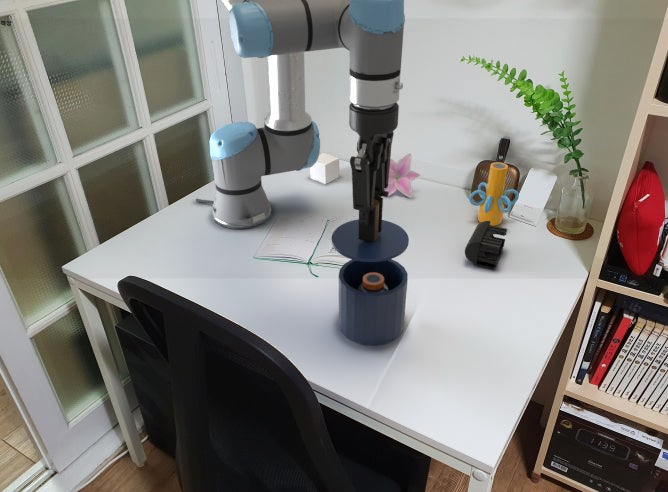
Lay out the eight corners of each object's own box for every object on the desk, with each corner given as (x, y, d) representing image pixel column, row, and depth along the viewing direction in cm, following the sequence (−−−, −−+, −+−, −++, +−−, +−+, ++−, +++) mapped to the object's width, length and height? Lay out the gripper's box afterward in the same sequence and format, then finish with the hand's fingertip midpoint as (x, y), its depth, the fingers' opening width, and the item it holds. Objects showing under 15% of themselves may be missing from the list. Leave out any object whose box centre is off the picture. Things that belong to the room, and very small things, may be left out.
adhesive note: (310, 178, 164) (309, 159, 161) (324, 171, 168) (323, 152, 164) (325, 184, 161) (325, 164, 157) (339, 177, 164) (339, 158, 161)
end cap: (473, 242, 135) (477, 217, 131) (503, 249, 132) (508, 224, 128) (462, 264, 127) (466, 238, 123) (494, 271, 125) (499, 246, 121)
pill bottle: (387, 315, 113) (389, 269, 106) (387, 335, 108) (389, 288, 101) (357, 313, 113) (358, 268, 107) (356, 333, 108) (356, 286, 102)
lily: (366, 193, 158) (371, 173, 149) (384, 164, 162) (390, 143, 154) (404, 213, 156) (411, 194, 147) (421, 182, 161) (430, 162, 152)
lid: (318, 254, 97) (317, 213, 92) (349, 218, 107) (349, 179, 102) (393, 272, 92) (395, 229, 88) (418, 232, 102) (421, 192, 98)
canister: (328, 336, 109) (327, 285, 101) (353, 299, 118) (354, 249, 110) (390, 355, 104) (394, 302, 97) (411, 315, 113) (416, 264, 106)
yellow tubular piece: (502, 236, 136) (513, 180, 127) (461, 225, 141) (469, 170, 132) (517, 215, 145) (528, 160, 136) (478, 205, 149) (486, 152, 140)
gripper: (378, 123, 78) (373, 263, 92) (414, 89, 89) (404, 218, 103) (329, 116, 81) (332, 253, 94) (370, 84, 92) (366, 210, 106)
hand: (370, 234), depth 99 cm, fingers closed on lid, 3 cm apart
